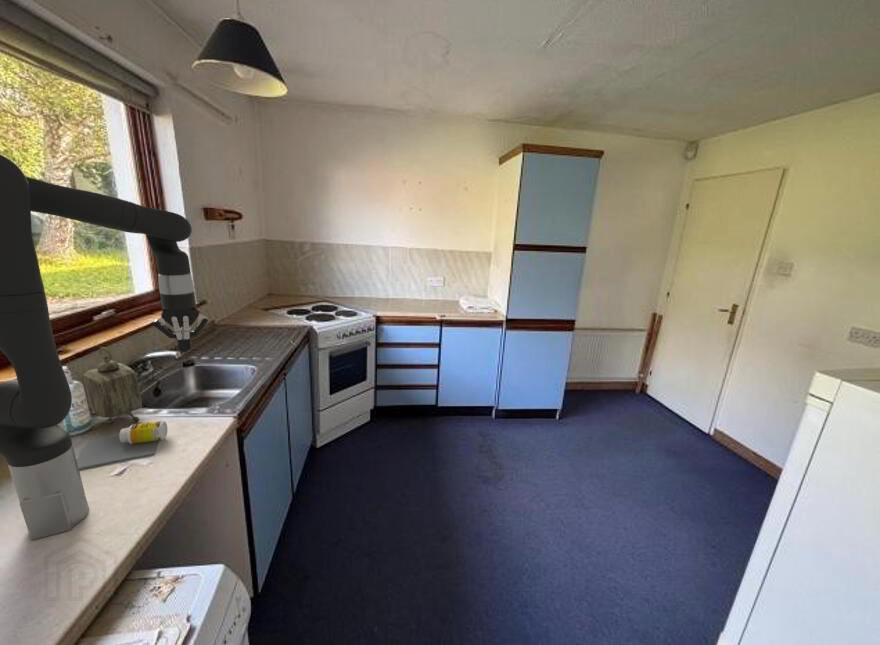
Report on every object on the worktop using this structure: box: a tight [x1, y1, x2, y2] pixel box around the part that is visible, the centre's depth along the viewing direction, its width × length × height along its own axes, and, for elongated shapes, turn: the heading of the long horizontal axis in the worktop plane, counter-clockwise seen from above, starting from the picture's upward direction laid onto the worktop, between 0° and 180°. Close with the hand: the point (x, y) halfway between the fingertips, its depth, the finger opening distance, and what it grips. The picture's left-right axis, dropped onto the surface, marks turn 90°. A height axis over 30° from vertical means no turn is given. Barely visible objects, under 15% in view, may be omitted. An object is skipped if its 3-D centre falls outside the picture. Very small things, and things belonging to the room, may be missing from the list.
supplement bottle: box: [119, 420, 168, 444], centre depth 106 cm, size 6×6×10 cm
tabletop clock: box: [81, 346, 143, 425], centre depth 114 cm, size 14×9×25 cm, turn 61°
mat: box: [76, 434, 160, 471], centre depth 104 cm, size 14×18×1 cm
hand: (186, 351), depth 102 cm, fingers closed
